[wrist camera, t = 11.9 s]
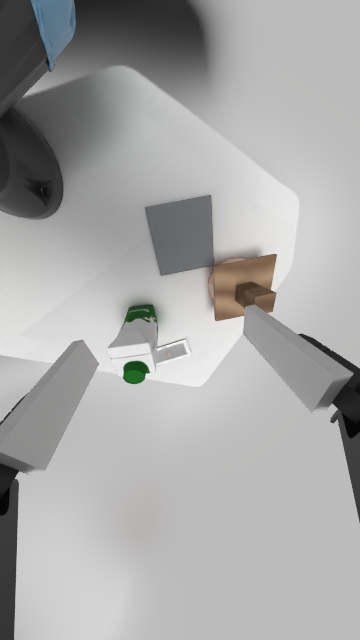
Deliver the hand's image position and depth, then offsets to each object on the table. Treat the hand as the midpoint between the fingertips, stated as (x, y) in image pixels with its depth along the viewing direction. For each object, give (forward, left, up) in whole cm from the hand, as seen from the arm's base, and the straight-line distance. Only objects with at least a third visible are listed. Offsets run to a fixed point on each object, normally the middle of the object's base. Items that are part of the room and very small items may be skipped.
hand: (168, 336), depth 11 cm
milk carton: (+12, -9, -29) cm, 33 cm away
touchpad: (+28, -4, -29) cm, 41 cm away
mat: (-6, +6, -29) cm, 30 cm away
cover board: (+7, +18, -22) cm, 30 cm away
